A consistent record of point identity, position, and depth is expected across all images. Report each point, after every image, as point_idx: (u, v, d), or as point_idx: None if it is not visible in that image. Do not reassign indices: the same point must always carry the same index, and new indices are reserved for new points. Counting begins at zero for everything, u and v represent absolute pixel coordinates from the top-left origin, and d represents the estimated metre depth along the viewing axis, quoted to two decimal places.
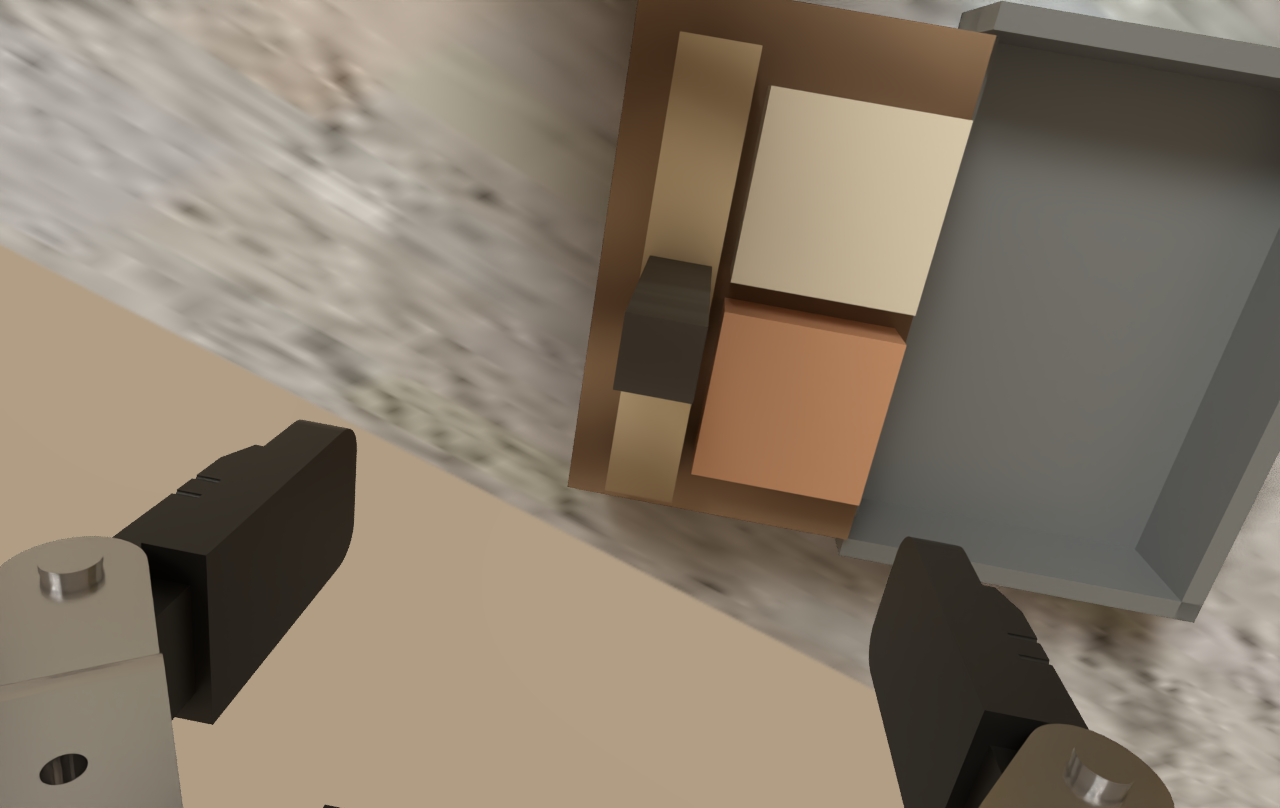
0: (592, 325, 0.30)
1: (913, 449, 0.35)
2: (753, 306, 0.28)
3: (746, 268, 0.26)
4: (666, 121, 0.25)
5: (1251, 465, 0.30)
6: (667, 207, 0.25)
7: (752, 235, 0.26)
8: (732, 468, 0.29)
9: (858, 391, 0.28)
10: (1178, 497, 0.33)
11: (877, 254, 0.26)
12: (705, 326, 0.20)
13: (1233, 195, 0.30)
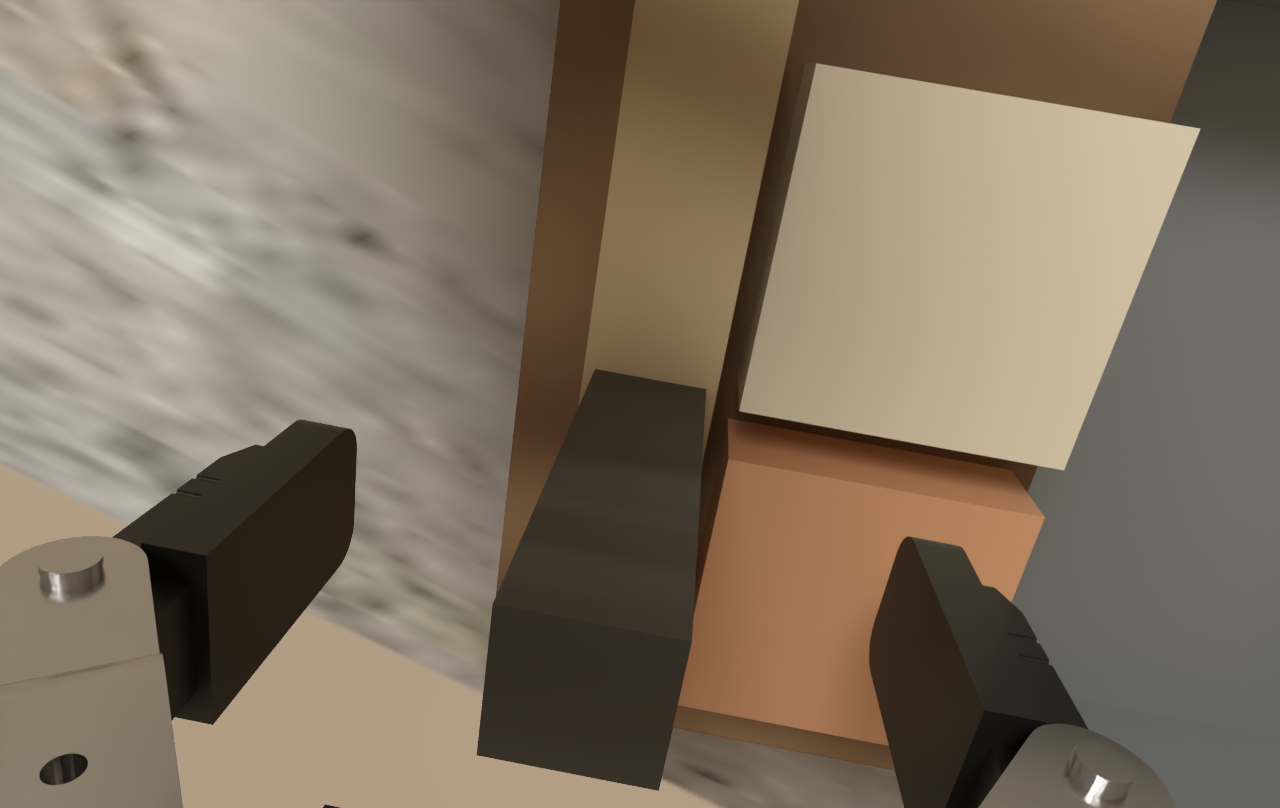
0: (513, 458, 0.18)
1: None
2: (776, 437, 0.17)
3: (766, 388, 0.15)
4: (619, 131, 0.13)
5: None
6: (625, 287, 0.14)
7: (778, 333, 0.15)
8: (742, 698, 0.18)
9: None
10: None
11: (1001, 366, 0.14)
12: (685, 639, 0.08)
13: None
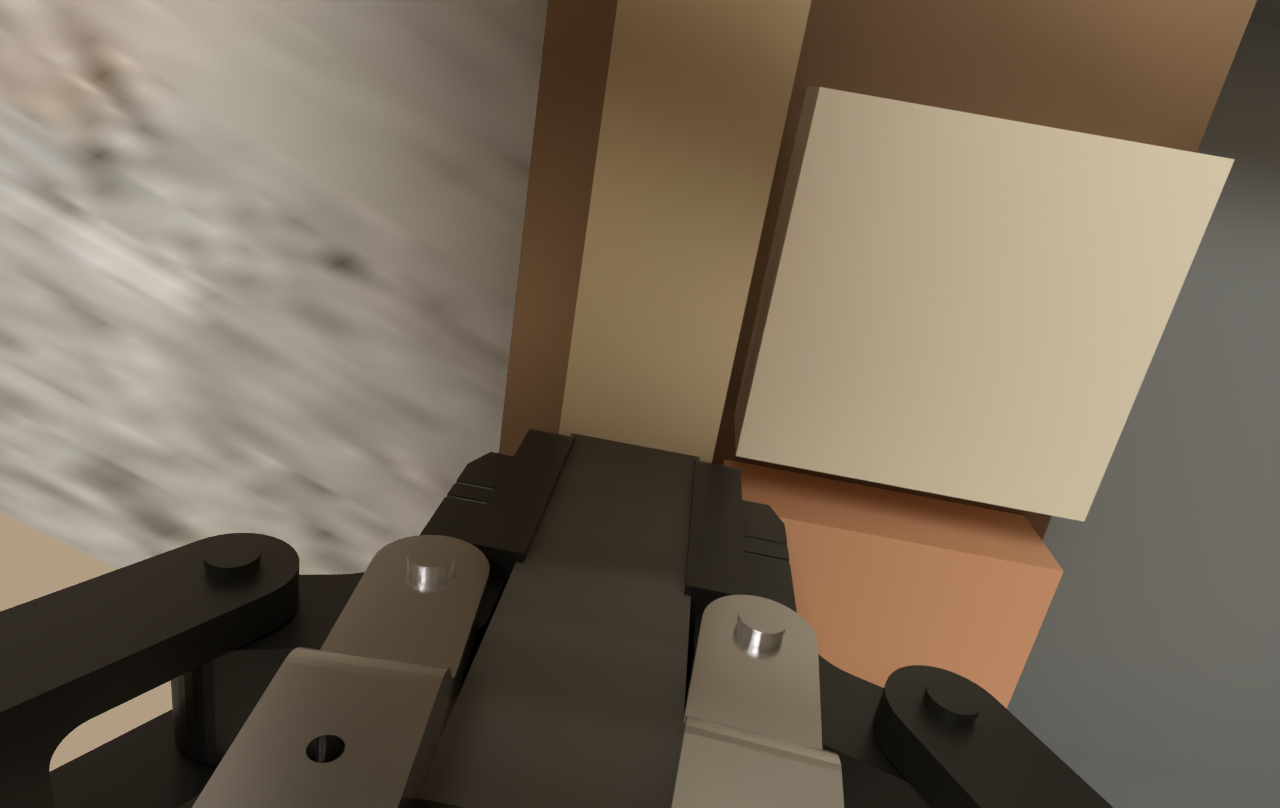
0: None
1: None
2: (775, 481, 0.16)
3: (765, 432, 0.14)
4: (598, 164, 0.11)
5: None
6: (605, 342, 0.12)
7: (777, 373, 0.14)
8: None
9: (968, 644, 0.15)
10: None
11: (1018, 411, 0.13)
12: None
13: None
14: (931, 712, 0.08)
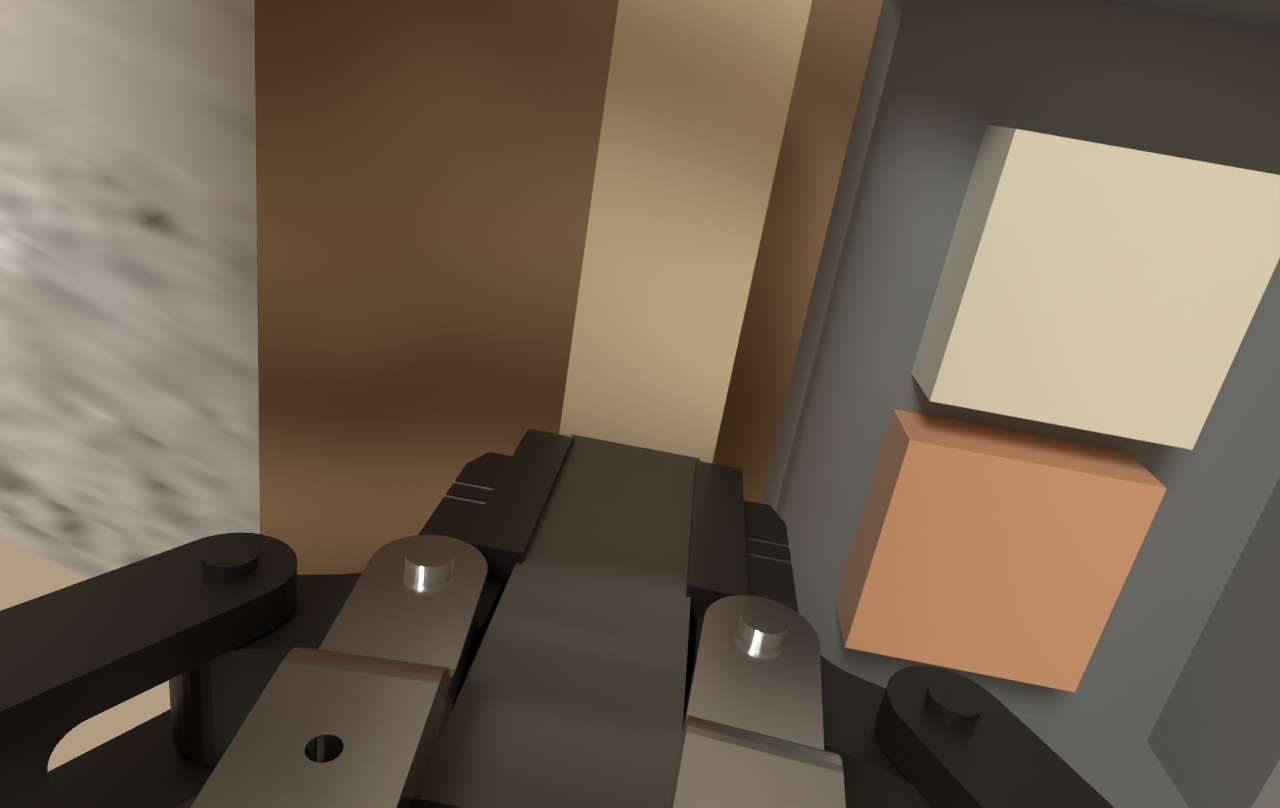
0: (262, 436, 0.18)
1: (815, 597, 0.23)
2: (1113, 469, 0.20)
3: None
4: (598, 165, 0.11)
5: None
6: (606, 343, 0.12)
7: None
8: None
9: None
10: (1214, 682, 0.22)
11: None
12: None
13: None
14: (933, 712, 0.08)
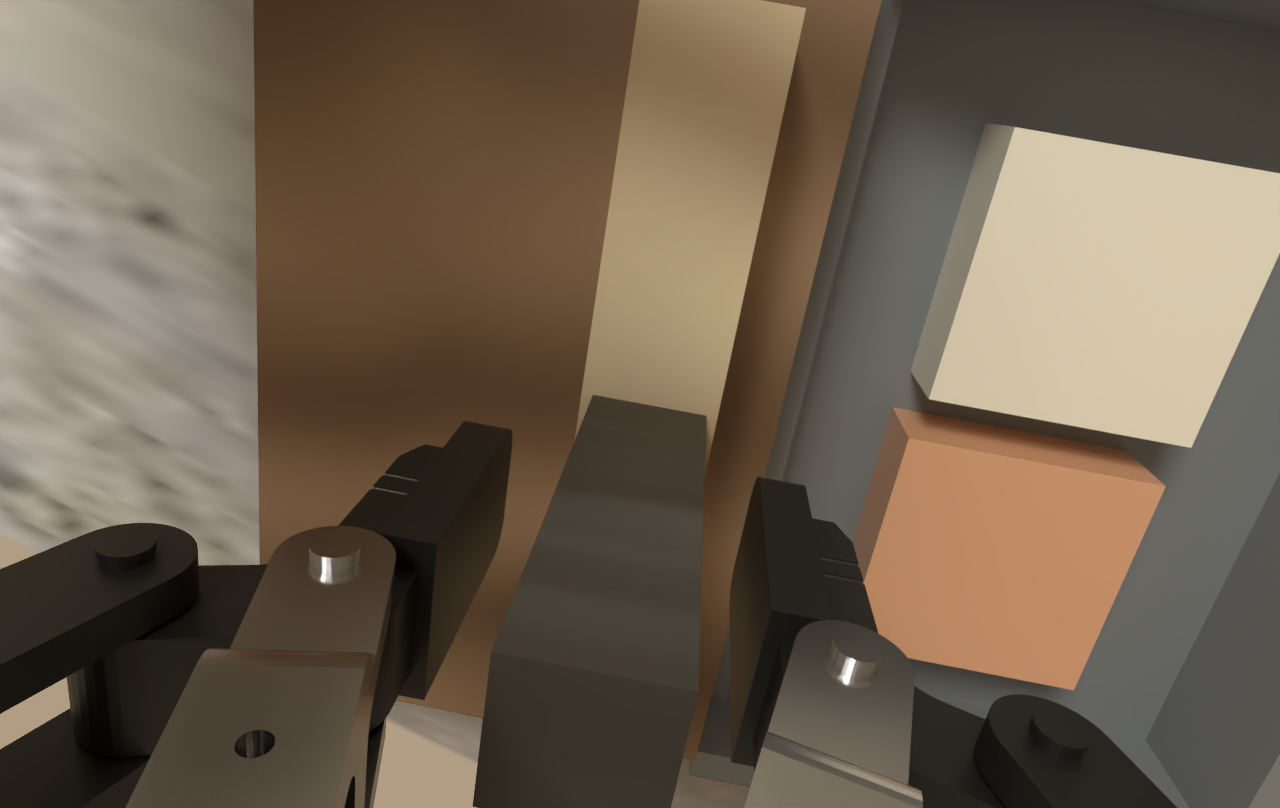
0: (261, 434, 0.18)
1: None
2: (1111, 467, 0.20)
3: None
4: (618, 155, 0.13)
5: None
6: (624, 312, 0.14)
7: None
8: None
9: None
10: (1212, 680, 0.22)
11: None
12: (691, 688, 0.08)
13: None
14: (1040, 745, 0.07)
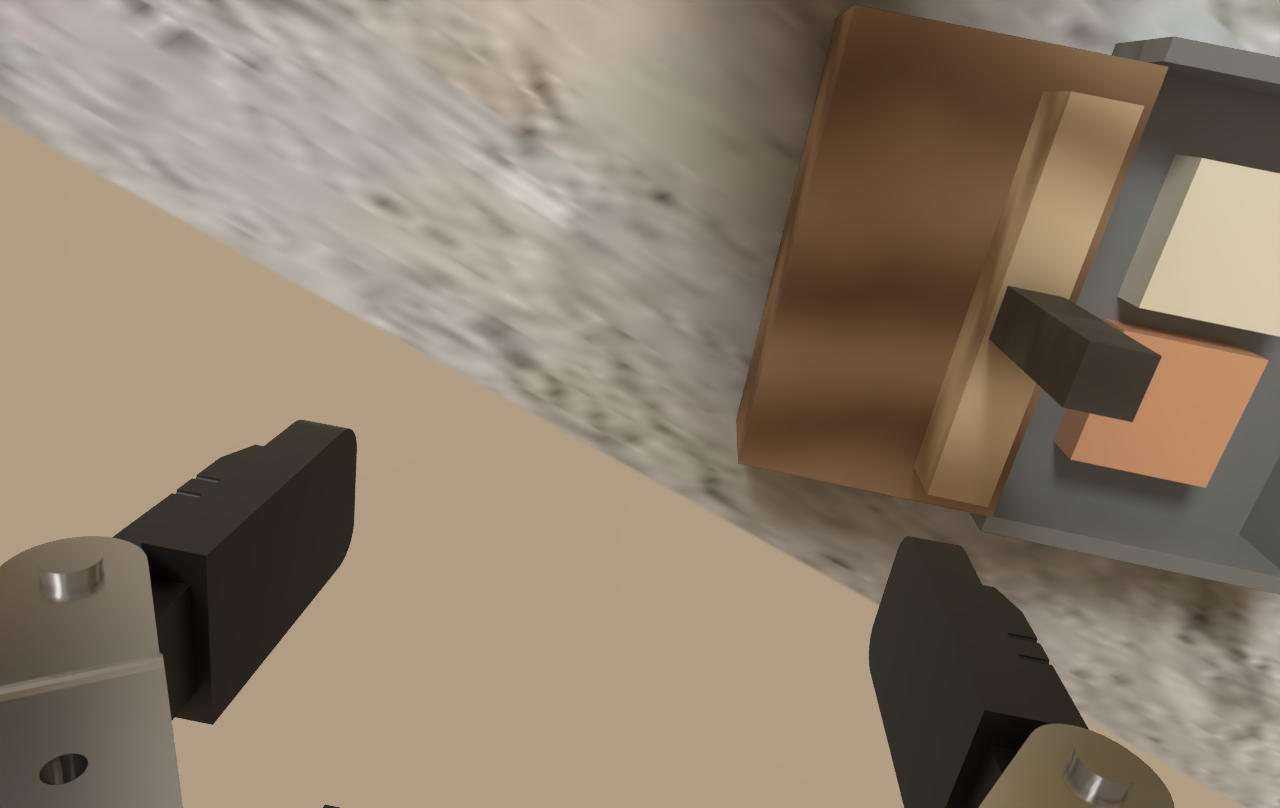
0: (777, 316, 0.33)
1: (1041, 438, 0.38)
2: (1236, 351, 0.35)
3: None
4: (1044, 168, 0.28)
5: None
6: (1032, 244, 0.29)
7: None
8: None
9: None
10: None
11: None
12: (1159, 355, 0.23)
13: None
14: None
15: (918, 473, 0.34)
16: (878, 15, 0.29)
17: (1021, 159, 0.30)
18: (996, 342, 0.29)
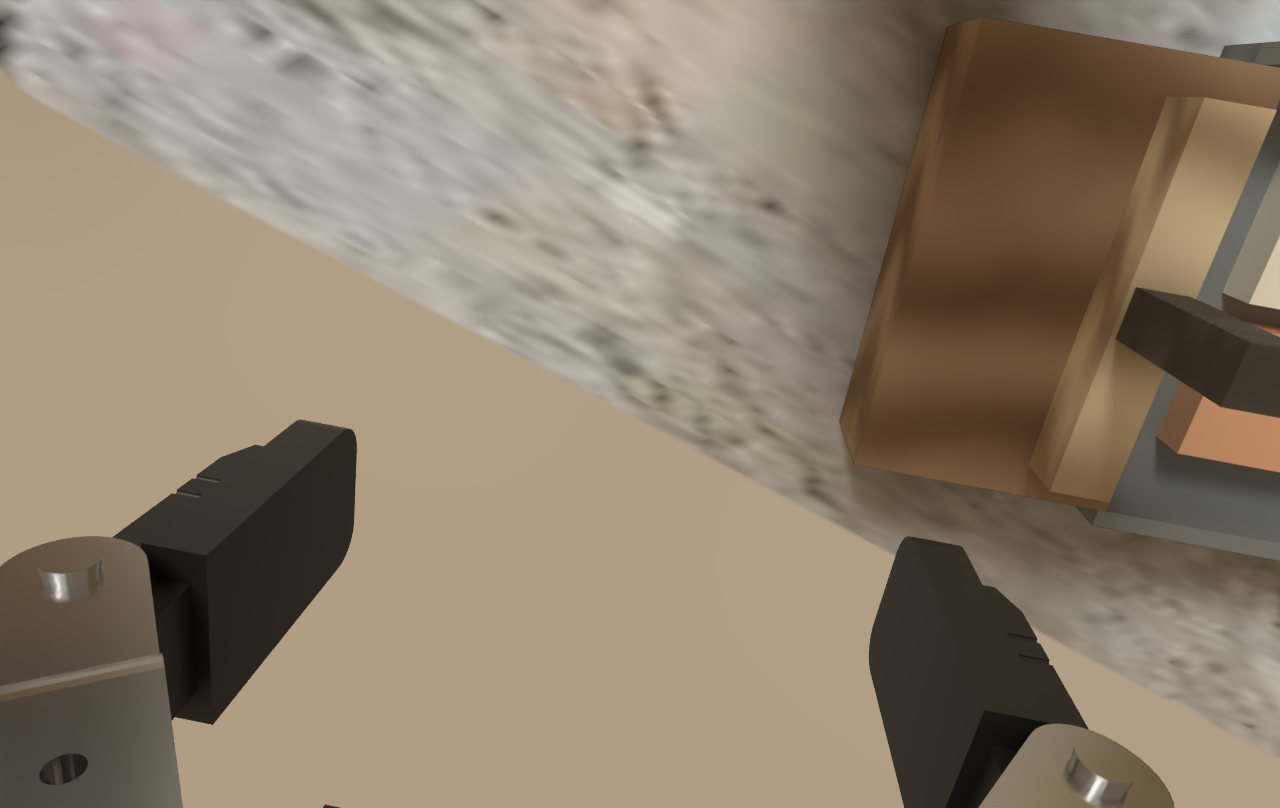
0: (897, 320, 0.34)
1: (1143, 432, 0.39)
2: None
3: None
4: (1175, 173, 0.28)
5: None
6: (1161, 246, 0.29)
7: None
8: None
9: None
10: None
11: None
12: None
13: None
14: None
15: (1035, 470, 0.35)
16: (1005, 26, 0.30)
17: (1144, 163, 0.31)
18: (1126, 342, 0.30)
